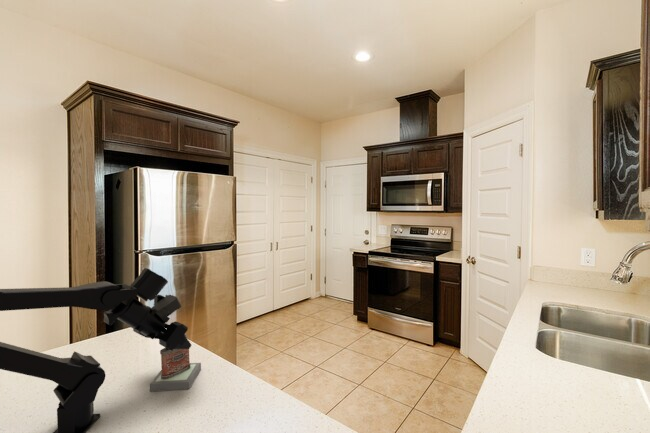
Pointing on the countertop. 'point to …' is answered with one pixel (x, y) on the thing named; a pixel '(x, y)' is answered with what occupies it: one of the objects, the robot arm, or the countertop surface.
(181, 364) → the lighter
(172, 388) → the baseplate
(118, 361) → the countertop surface
